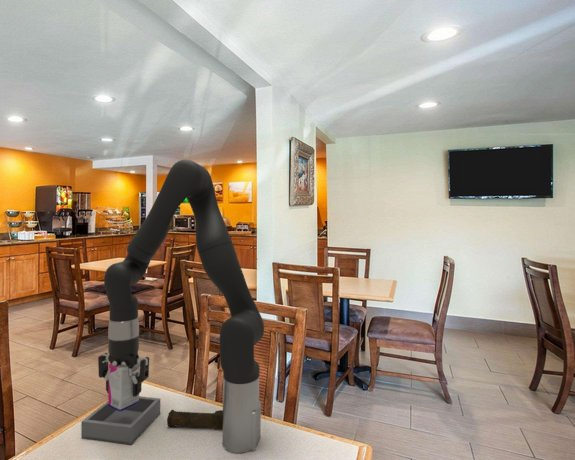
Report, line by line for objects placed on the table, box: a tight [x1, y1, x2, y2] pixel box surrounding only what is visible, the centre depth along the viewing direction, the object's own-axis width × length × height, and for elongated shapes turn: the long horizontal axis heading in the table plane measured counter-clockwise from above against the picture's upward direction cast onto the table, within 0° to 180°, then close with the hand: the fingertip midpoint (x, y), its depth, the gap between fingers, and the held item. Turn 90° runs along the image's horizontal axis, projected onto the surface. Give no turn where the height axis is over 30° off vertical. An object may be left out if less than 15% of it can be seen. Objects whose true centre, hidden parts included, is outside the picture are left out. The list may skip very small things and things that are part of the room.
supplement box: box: [107, 363, 140, 412], centre depth 93 cm, size 6×6×12 cm
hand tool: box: [166, 409, 223, 431], centre depth 94 cm, size 19×4×5 cm, turn 84°
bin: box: [80, 395, 161, 446], centre depth 94 cm, size 14×14×4 cm
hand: (123, 393), depth 94 cm, fingers closed on supplement box, 7 cm apart
